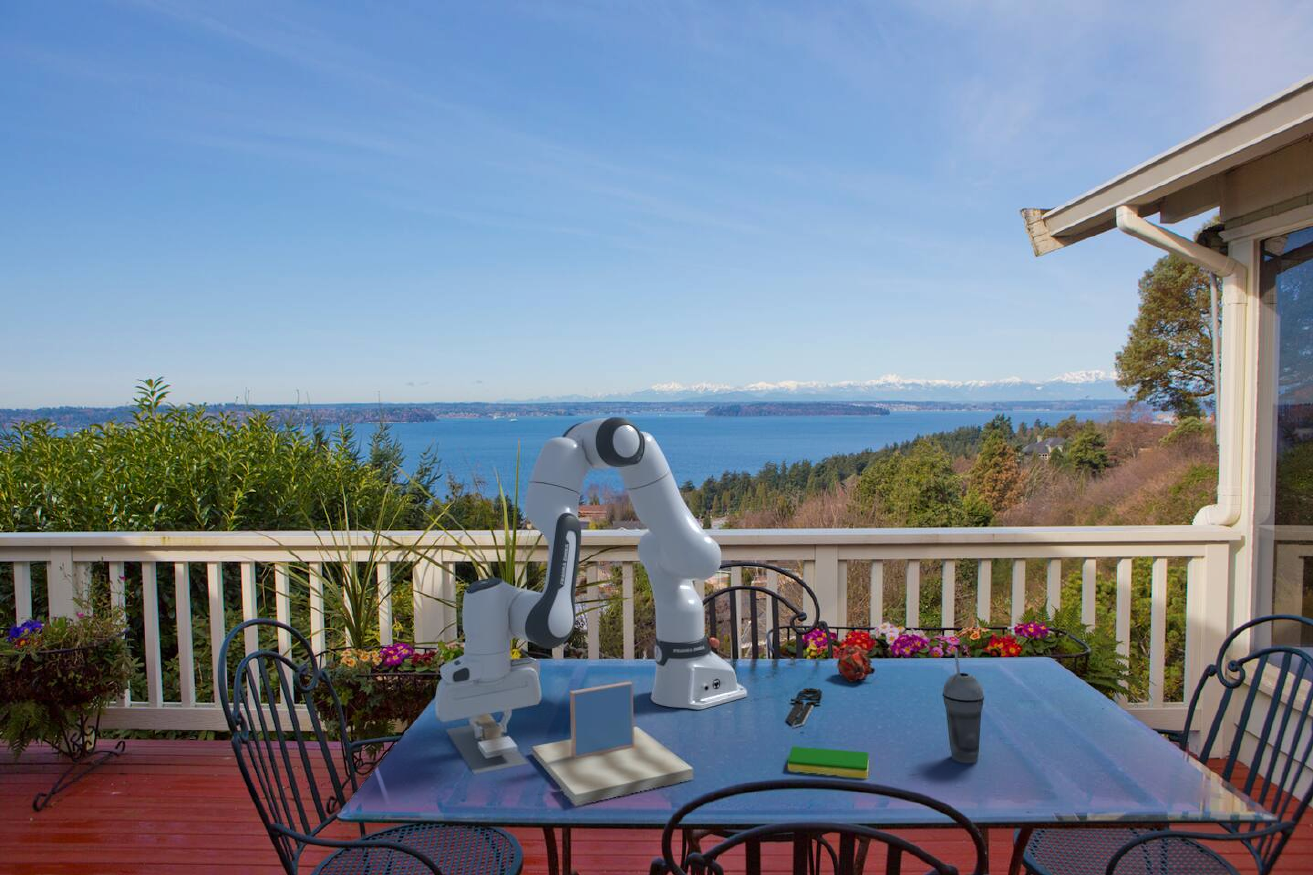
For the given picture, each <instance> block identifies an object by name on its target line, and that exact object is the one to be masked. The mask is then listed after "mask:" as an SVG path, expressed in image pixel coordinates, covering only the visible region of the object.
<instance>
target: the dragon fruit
mask: <svg viewBox="0 0 1313 875" xmlns="http://www.w3.org/2000/svg"><path fill="white" fill-rule="evenodd" d="M869 656H870V653H869V651H868V650H865V649H862V648H861V647H860V646H858V645H854V646H853V645H847V646H846V647H845V648H844V649H843V650H841V651H840V652H838V654H837V658H838V661H837V664H836V666H837V669H838V673H839V675H840V676H841V677H842V676H844V678H845V679H846V680H847V681H848V682H850V683H855V682H856V681H857V679H859V680H864V679H866V678H867V677H868V675H873V674H874V673H875V671H876V668H875V667H872V661H873V660H872V659H871V658H870V657H869Z"/></svg>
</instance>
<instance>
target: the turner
mask: <svg viewBox="0 0 1313 875" xmlns="http://www.w3.org/2000/svg"><path fill="white" fill-rule="evenodd" d="M468 723H469V724H468V725H471V727H472V728H473V729H474V727H473V726H472V724H471V723H470V721H469V720H468ZM475 723H476V725H477V726H482V728H484V733H483V734H484V737H482V738H480V739H481V740H482V741H481V742H478V748H479V749H480V751H481V752H482V753H483V755H484V756H485V758H489V757H494V756H499V755H503V754H508V753H513V752H519V749H518V748H519V747H518V746H519V745H517V744H516V743H515V741H514V740H513V739H512V738H511V737H510V735H505V737H501V727H500V726H499V724H498V723H499V722H497V721H496V719H495V718H494V717H493V716H492V714H491V713H490V714H485V715H479V716H478V721H476V722H475Z"/></svg>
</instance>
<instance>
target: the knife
mask: <svg viewBox="0 0 1313 875" xmlns="http://www.w3.org/2000/svg"><path fill="white" fill-rule="evenodd" d="M822 694H823V691H822V690H821V689H820V688H819V689H816V688H814V687H808V688H807V687H806V688H803V690H800V691H798V693H797V699H796V698H791V699H790V702H792V704H793V707H792V709H791V710H790V712H789V713H788V715H787V717H786V718H785V720H786V721H787V723H789V724H790V725H793V726H792V728H793V729H795V728H797V727H800V726H804V725H805V724H806V721H807V720H808V717H809V715H810V714H811V712H812V710H813V708H814V707H815V706H819V707H820V706H821V700H822ZM808 695H810V696H808ZM802 698H804V700H805V701H806V703H805V705H804V701H803V700H802ZM808 700H810V701H808ZM795 720H796V721H795Z"/></svg>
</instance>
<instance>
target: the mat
mask: <svg viewBox="0 0 1313 875" xmlns="http://www.w3.org/2000/svg"><path fill="white" fill-rule="evenodd" d="M445 731H446V733H447V735H448V737H449V738H450V739H451V741H452V742H453V744H454V746H455V747H456V749H457V750H458V751H459V753H460V754H461V756H462V758H463V759H464V761H465V762H466V764H467V766H468V768H470V770H471V772H472V773H473V775H478V774H485V773H488V772H493V771H498V770H503V769H504V770H505V769H508V768H513V767H518V766H523V765H528V764H529V763H528V761H527V760H526V759H525V758H524V757H523V755H522V754H521V753H520V752H519V751H518V752H513V753H508V754H503V755H499V756H494V757H489V758H485V756H484V755H483V753H482V752H481V751H480V749H479V748H478V742H481V741H482V740H481V739H480V738H478V739H476V738H475V732H474V729H473V728H472V727H471V725H470V724H468V725H464V726H457V727H451V728H446V729H445ZM501 737H506V735H505V733H503V734H501Z"/></svg>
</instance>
